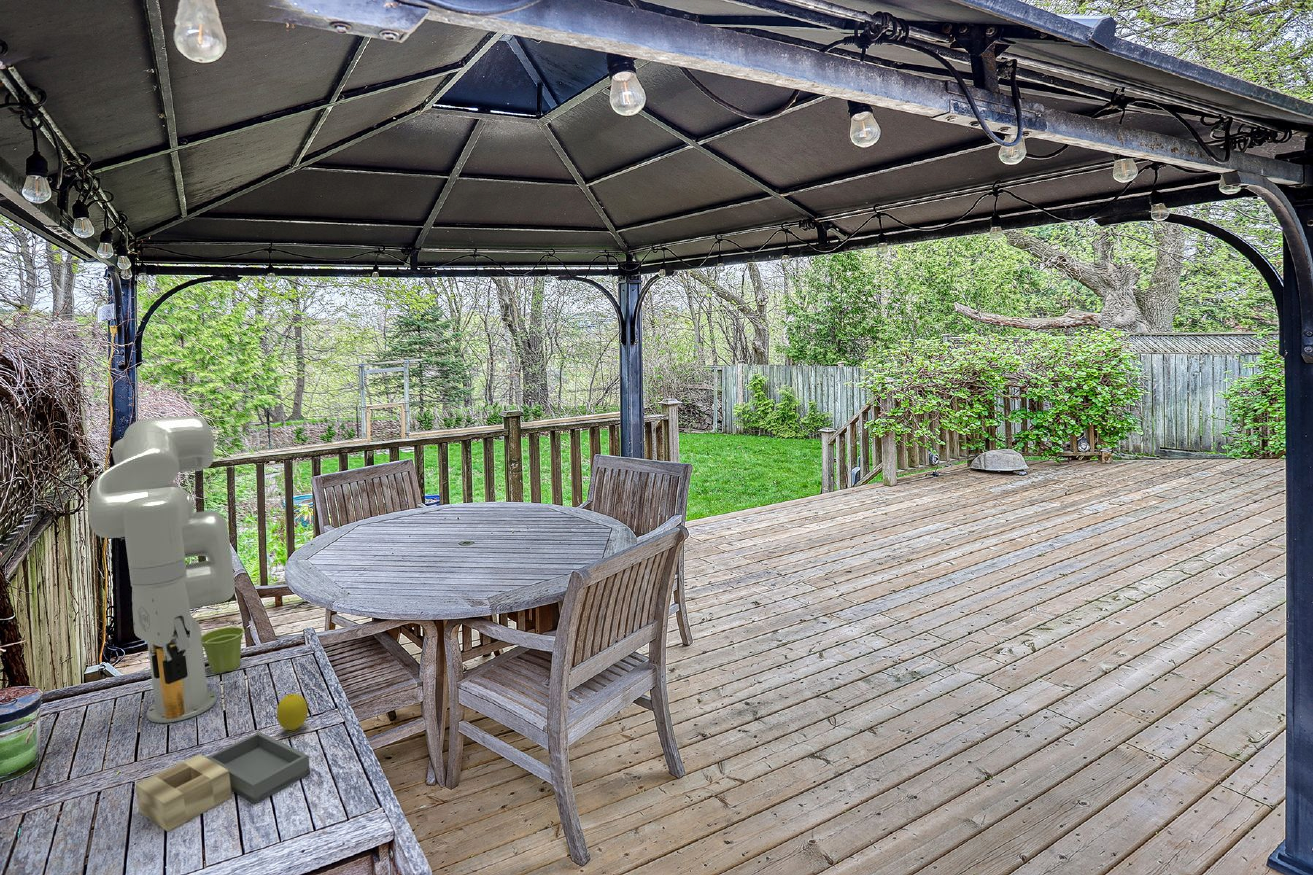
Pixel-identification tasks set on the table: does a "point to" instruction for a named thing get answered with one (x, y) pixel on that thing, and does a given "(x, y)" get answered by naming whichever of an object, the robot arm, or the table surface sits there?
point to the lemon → (292, 711)
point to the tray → (261, 766)
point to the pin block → (183, 791)
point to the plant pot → (223, 648)
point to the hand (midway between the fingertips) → (170, 676)
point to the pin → (170, 691)
